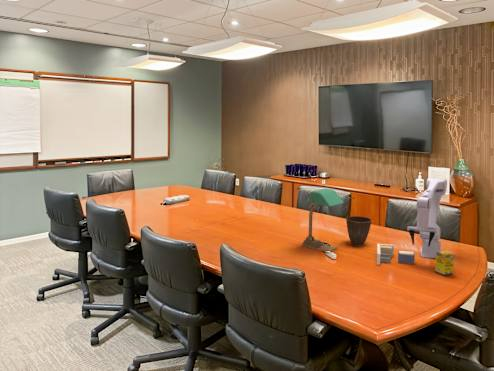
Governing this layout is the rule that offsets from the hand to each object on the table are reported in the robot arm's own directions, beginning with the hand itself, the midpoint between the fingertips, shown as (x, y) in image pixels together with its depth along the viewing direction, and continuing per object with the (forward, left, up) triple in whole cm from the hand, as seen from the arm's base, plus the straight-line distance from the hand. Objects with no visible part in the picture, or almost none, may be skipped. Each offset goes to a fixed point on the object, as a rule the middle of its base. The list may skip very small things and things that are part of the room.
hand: (421, 245), depth 225 cm
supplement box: (-10, +10, -11) cm, 18 cm away
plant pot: (+33, -28, -11) cm, 44 cm away
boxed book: (+7, -2, -11) cm, 13 cm away
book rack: (+17, -3, -11) cm, 20 cm away
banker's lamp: (+54, -14, -11) cm, 57 cm away
